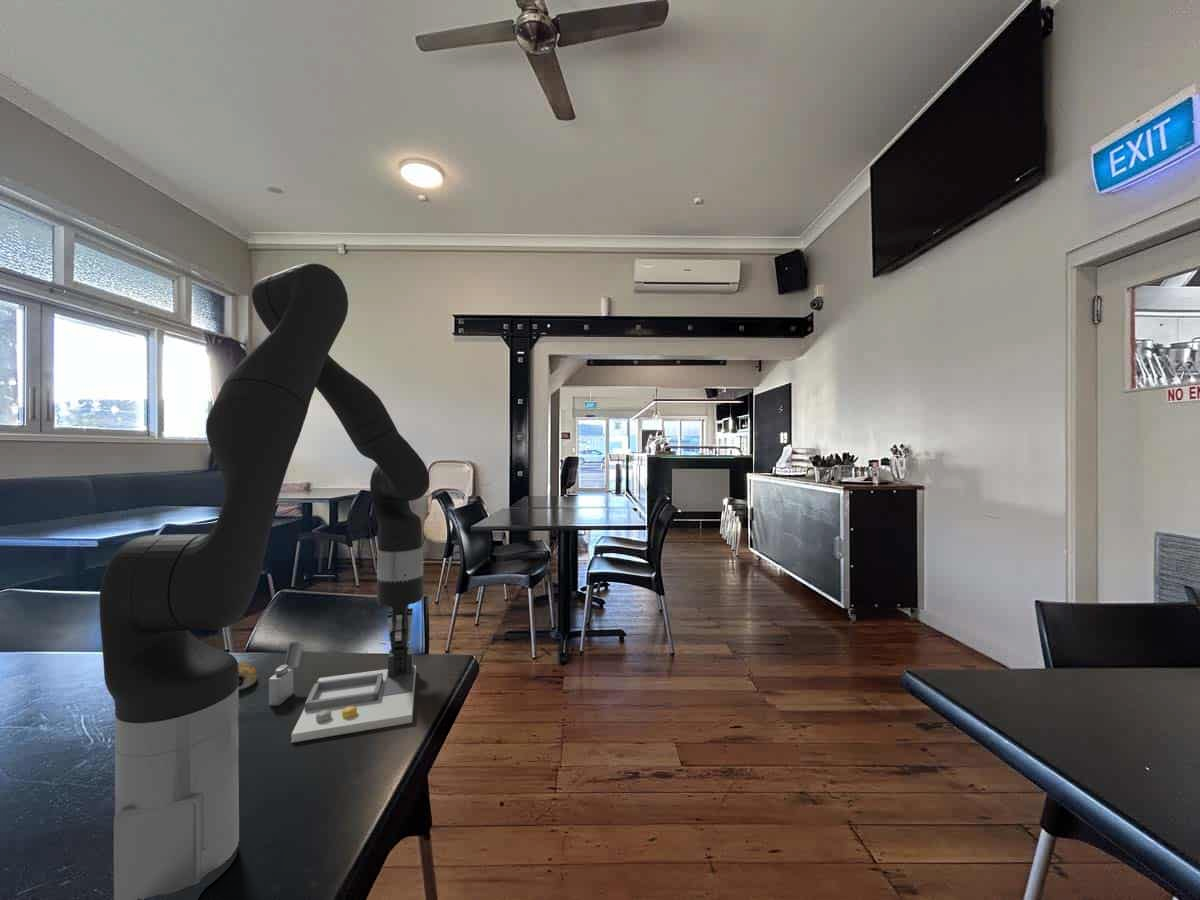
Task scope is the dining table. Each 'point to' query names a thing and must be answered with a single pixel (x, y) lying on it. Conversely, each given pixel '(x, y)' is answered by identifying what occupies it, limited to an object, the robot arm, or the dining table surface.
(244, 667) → the pastry
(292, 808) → the dining table surface
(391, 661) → the block
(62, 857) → the dining table surface
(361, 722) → the board
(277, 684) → the lighter
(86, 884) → the dining table surface
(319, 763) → the dining table surface
